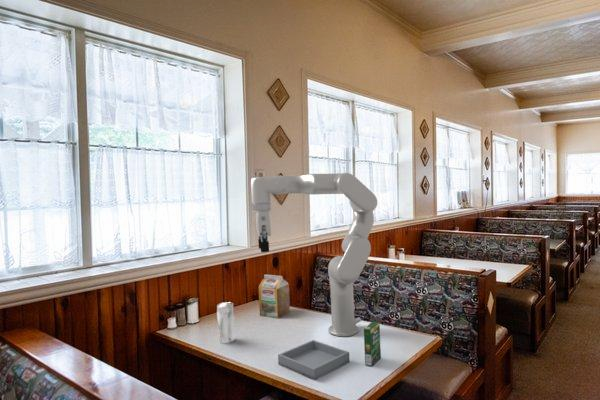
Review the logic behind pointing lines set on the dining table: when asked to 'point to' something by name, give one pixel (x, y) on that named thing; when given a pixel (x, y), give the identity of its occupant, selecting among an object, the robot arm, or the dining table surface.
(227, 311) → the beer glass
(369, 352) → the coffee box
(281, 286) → the milk carton
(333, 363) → the grey tray
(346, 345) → the dining table surface
